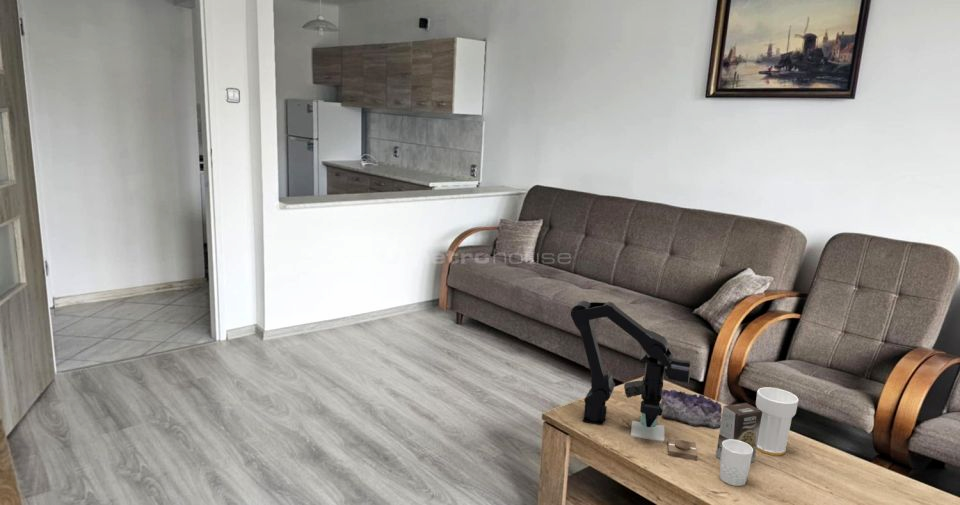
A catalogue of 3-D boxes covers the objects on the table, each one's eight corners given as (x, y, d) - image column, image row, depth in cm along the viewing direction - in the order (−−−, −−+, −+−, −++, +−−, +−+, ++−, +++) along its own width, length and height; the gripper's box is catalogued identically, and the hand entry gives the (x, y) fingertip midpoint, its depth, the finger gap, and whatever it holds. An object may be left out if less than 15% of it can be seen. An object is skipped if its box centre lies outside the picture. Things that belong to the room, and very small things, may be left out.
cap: (639, 425, 196) (640, 411, 195) (639, 418, 201) (641, 405, 200) (657, 428, 195) (659, 414, 194) (657, 421, 199) (659, 407, 198)
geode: (722, 418, 210) (727, 393, 207) (718, 437, 200) (723, 410, 197) (660, 402, 219) (664, 377, 215) (654, 419, 209) (657, 393, 205)
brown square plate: (668, 455, 184) (669, 447, 184) (667, 442, 192) (668, 434, 191) (696, 460, 182) (697, 452, 182) (695, 447, 190) (696, 439, 189)
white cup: (750, 489, 169) (756, 455, 167) (719, 485, 170) (724, 451, 168) (744, 474, 177) (749, 441, 175) (715, 469, 178) (720, 437, 176)
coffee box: (730, 467, 180) (738, 415, 176) (714, 455, 186) (722, 405, 182) (755, 462, 183) (763, 411, 180) (738, 451, 189) (746, 401, 186)
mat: (630, 436, 195) (630, 434, 195) (631, 421, 204) (632, 420, 204) (664, 441, 192) (664, 440, 192) (663, 427, 202) (663, 426, 202)
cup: (789, 444, 195) (798, 392, 191) (789, 461, 185) (799, 406, 181) (749, 435, 199) (757, 384, 196) (748, 451, 189) (756, 397, 186)
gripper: (628, 362, 205) (623, 406, 208) (626, 384, 187) (620, 432, 191) (663, 367, 202) (658, 412, 206) (664, 390, 185) (658, 439, 188)
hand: (648, 423), depth 198 cm, fingers closed on cap, 5 cm apart
